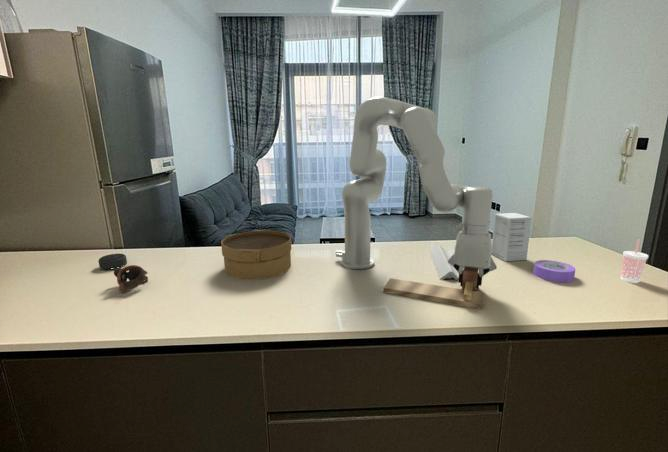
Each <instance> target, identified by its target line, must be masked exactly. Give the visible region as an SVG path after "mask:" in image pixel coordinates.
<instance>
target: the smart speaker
mask: <svg viewBox="0 0 668 452" xmlns="http://www.w3.org/2000/svg"><path fill="white" fill-rule="evenodd" d="M97 262H98V267H99V269H101V268H102V270H104V269H111V268H117V267H120V268H122V267H121V266H123V265H125V264H126V265H127V264H128V258H127V255H126V254H125V253H111V254H105V255H104V256H102V257H100V258H99V259H98V261H97ZM126 265H125V266H126ZM123 267H124V266H123ZM111 270H112V269H111Z"/></svg>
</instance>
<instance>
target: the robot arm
mask: <svg viewBox="0 0 668 452" xmlns="http://www.w3.org/2000/svg"><path fill="white" fill-rule="evenodd" d="M353 123H354V124H353V135H352V142H351V149H350V157H349V171H350V173H351V174H352V175H353V176H355V177H360V178H359V179H355V180H354V179H353V180H351V181H349V182H347V183H346V184H345V185H344V186H343V188H342V192H341V200H342V204H343V211H344V212H343V213H344V214H343V215H344V249H343V250H339V249H336V250H335V257H336V258H341V260H340V265H341V266H342V267H344V268H347V269H350V270H365V269H366V270H367V269H369V268H371V267H374V265H375V260H374V258H372V257H371V232H372V231H371V229H372V227H371V226H372V225H371V223H372V222H371V212H370V207H369V204H373V203H375V202H377V201H378V200H379V199H380V198H381V195H382V193H383V189H384V183H385V177H386V172H387V158H386V156H385V154H384V153H383V151H381V150H380V149H378V148H377V147H378V142H379V141H378V140H379V135H378V133H379V132H378V126H391V127H394V128H398V129H400V130H403V133H404V135H405V137H406V139H407V142H409V145H410V147H411V149H412V152H413V153H414V155H415V158H416V161H417V163H418V171H419V172H418V173H419V177H420V182H421V186H422V188H423V190H424V192H425V194H426V196H427V198H428V200H429V202H430V204H431V206H432V207H433V208H434V209H435V210H436V211H438V212H439V213H446V214H447V213H451V212H453V211H455V210H458V209H461V208H462V217H461V223H456V227H455V228H456V229H460V230H459V231H458V233H457V235H456V240H455V245H454V247H455V253H454V254H453V255H452V256H451V257H450V259H449V260H448V263H449V264H450V265H452V266H453V267H454V268H455V269H456V270H457V271H458V273H459V280H457V282H458V283H460V286H459V287H462V282H463V271H464V270H463V269H464V266H466V267H474V268H478V278H477V288H476V290H479V287H480V286H482V284H483V282H482V281H483V277H484V276H485V275H487V274H488V273H490V272H492V271H495V270H497V264H496V263H495V261H494V259H493V257H492V254H491V250H492V234H491V233H489V231H490V223H491V213H492V211H491V210H492V203H493V190H492V189H491V188H489V187H487V186H486V187H485V186H469V185H463V184H458V183H450V180H449V179H448V176H447V174H446V170H445V169H444V168H445V167H444V158H445V153H446V152H445V151H446V149H445V146H444V145H443V143H442V140H441V139H440V137H439V134H438V133H437V130H436V128H437V125H438V119H437V116H436V114H435V112H434V111H433V110H432V109H430V108H427V107H422V106H418V105H414V104H412V103H409V102H405V101H401V100H398V99H394V98H390V97H387V96H374V97H371V98H368V99H366V100H364V101H363V102H362V103H361V104H360V105H359V107H358V108H357V111H356V112H355V116H354V122H353ZM459 265H460V266H459Z"/></svg>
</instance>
